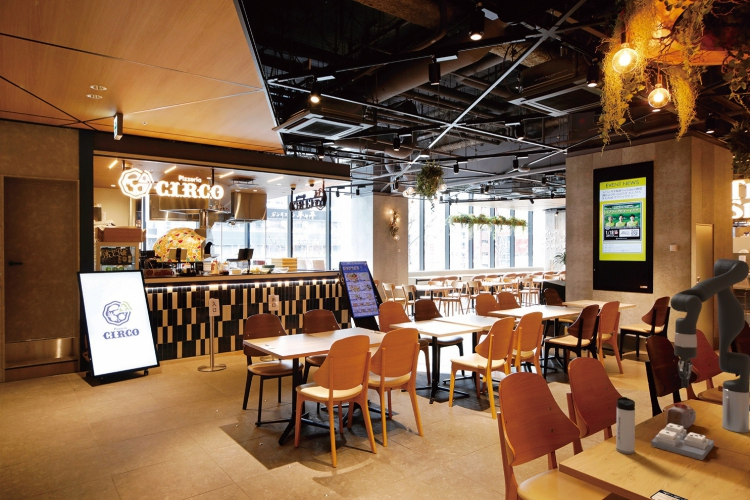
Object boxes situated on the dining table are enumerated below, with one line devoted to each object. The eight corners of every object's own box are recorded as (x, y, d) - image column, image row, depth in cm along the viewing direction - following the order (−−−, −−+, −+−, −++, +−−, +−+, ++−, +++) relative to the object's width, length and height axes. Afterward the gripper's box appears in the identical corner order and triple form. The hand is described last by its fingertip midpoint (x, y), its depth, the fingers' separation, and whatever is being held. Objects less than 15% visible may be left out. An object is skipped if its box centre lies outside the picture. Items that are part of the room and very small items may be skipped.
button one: (662, 434, 189) (662, 428, 189) (676, 437, 186) (676, 432, 186) (658, 437, 186) (658, 432, 186) (673, 441, 182) (673, 436, 182)
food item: (677, 419, 215) (677, 398, 215) (697, 425, 209) (697, 403, 209) (664, 426, 207) (664, 404, 207) (685, 432, 201) (685, 409, 201)
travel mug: (632, 448, 183) (633, 397, 183) (636, 455, 177) (636, 402, 177) (614, 446, 185) (615, 395, 185) (617, 453, 179) (618, 401, 179)
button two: (669, 427, 196) (669, 422, 196) (683, 431, 192) (683, 426, 192) (666, 431, 193) (666, 425, 193) (680, 434, 189) (680, 429, 189)
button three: (690, 437, 187) (690, 431, 187) (705, 441, 183) (705, 435, 183) (687, 440, 183) (687, 435, 183) (702, 444, 179) (702, 439, 179)
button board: (665, 433, 199) (665, 423, 199) (713, 445, 187) (714, 435, 187) (651, 446, 186) (651, 436, 186) (702, 460, 174) (702, 449, 174)
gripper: (679, 340, 195) (678, 382, 195) (669, 345, 186) (669, 388, 186) (700, 343, 189) (700, 386, 189) (692, 348, 180) (691, 393, 180)
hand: (684, 387), depth 187 cm, fingers closed
